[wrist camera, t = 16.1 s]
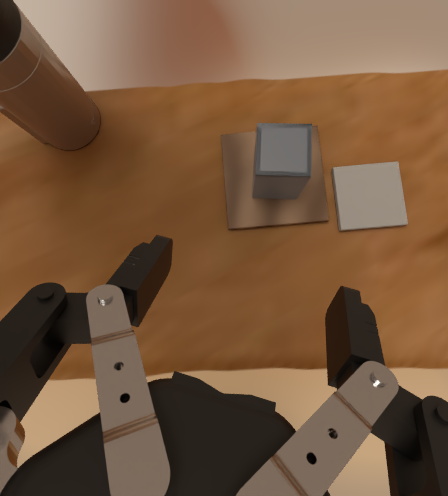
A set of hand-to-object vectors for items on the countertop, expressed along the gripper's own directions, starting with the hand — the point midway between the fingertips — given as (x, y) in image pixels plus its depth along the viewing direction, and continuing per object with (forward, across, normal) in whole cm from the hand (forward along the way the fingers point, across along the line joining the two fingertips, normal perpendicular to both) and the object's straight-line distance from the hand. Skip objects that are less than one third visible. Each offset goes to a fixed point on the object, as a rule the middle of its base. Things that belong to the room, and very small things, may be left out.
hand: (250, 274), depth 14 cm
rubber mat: (+32, -14, +9) cm, 36 cm away
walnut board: (+31, 0, +9) cm, 33 cm away
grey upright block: (+31, 0, +8) cm, 32 cm away
